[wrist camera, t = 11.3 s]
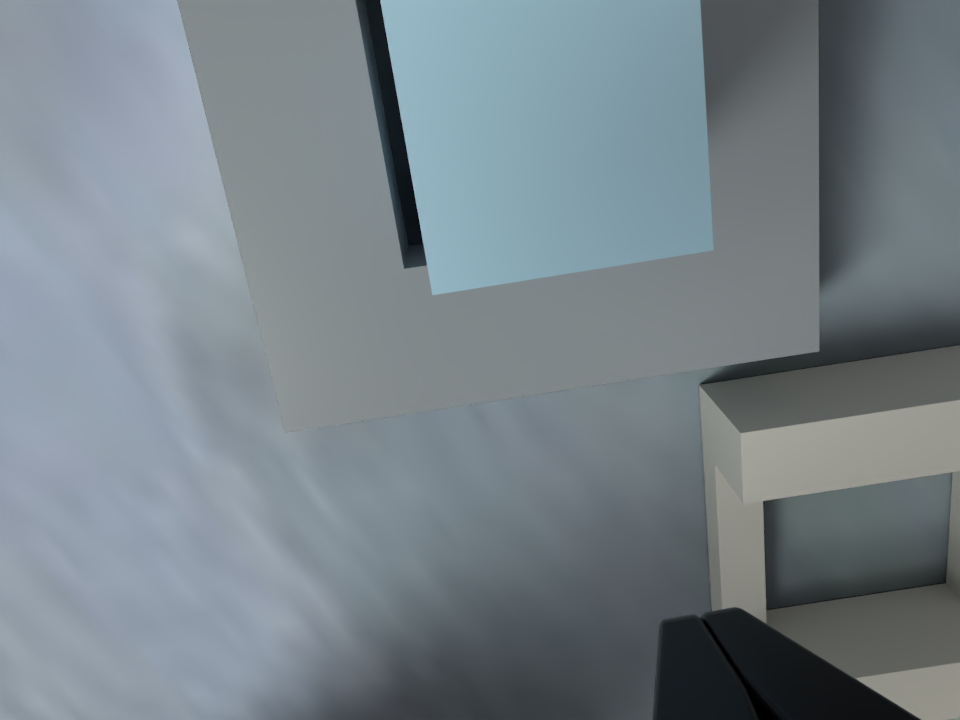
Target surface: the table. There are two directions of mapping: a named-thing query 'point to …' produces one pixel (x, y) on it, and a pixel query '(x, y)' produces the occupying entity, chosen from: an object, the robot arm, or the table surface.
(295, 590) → the table surface
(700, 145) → the plug
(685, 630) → the robot arm
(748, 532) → the grey square frame
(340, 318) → the socket
